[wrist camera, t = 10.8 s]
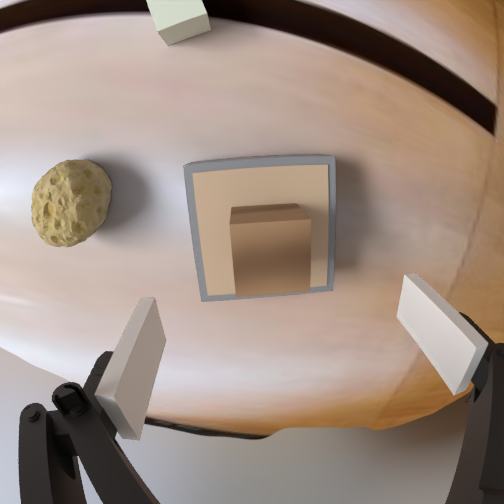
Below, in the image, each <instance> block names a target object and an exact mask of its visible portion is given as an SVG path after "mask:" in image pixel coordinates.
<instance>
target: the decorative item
mask: <svg viewBox="0 0 504 504" xmlns="http://www.w3.org/2000/svg"><path fill="white" fill-rule="evenodd" d="M110 190H112V184H111V180H110V179H109V177H108V175H107V174H106V173H105V171H104V170H103V169H102V168H101V167H100V166H98V165H96V164H95V163H93V162H91V161H90V160H66V161H64V162H61V163H59V164H57V165H56V166H55V167H53V168H52V169H50V170H49V171H48V172H47V173H46V174H45V175H44V176H42V178H41V179H40V180H39V181H38V182H37V184H36V185H35V187H34V190H33V193H32V205H31V208H32V209H31V211H32V223H33V226H34V227H35V229H36V231H37V232H38V234H39V236H40V237H41V238H42V239H43V240H44V241H45V243H46V244H49V245H52V246H55V247H61V246H65V247H71V246H74V245H76V244H77V243H80V242H83V241H85V240H86V239H87V238H88V237H90V236H91V235H92V234H94V233H95V231H96V230H97V229H98V228H99V226H101V225H102V223H103V222H104V220H105V219H106V217H107V211H108V207H109V204H110V199H111V193H110Z"/></svg>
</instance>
